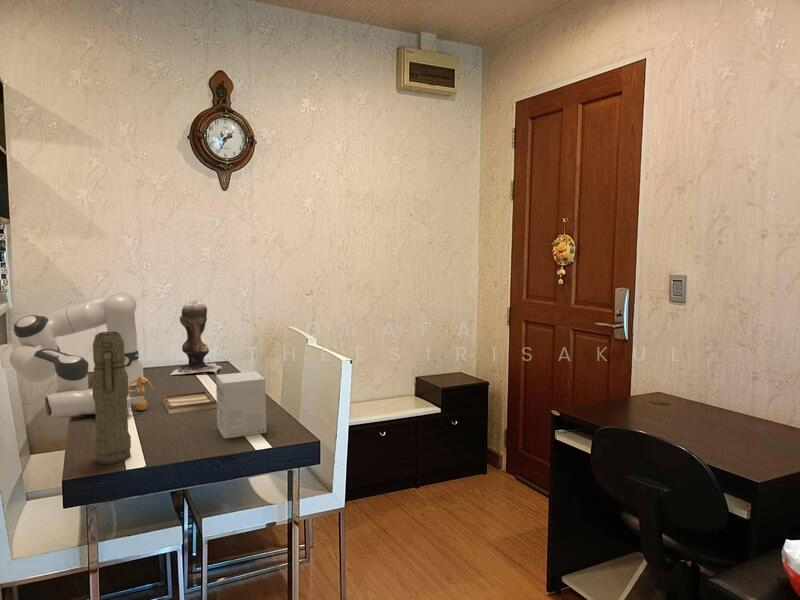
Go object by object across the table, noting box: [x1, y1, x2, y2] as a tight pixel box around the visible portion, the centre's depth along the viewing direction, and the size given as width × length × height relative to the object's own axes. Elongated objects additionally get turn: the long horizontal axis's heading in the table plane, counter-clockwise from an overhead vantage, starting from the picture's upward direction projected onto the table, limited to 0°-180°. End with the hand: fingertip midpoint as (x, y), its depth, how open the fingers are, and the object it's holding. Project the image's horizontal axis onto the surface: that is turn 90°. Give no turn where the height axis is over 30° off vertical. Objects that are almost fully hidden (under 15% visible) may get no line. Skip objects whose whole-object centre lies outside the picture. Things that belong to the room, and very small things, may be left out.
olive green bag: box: [91, 331, 132, 465], centre depth 156 cm, size 9×12×35 cm
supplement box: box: [215, 370, 268, 439], centre depth 181 cm, size 13×13×18 cm
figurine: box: [128, 377, 154, 411], centre depth 205 cm, size 8×6×12 cm
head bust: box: [169, 300, 223, 376], centre depth 271 cm, size 22×25×35 cm
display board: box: [162, 390, 217, 415], centre depth 211 cm, size 18×16×2 cm
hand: (143, 395), depth 205 cm, fingers open, 8 cm apart
